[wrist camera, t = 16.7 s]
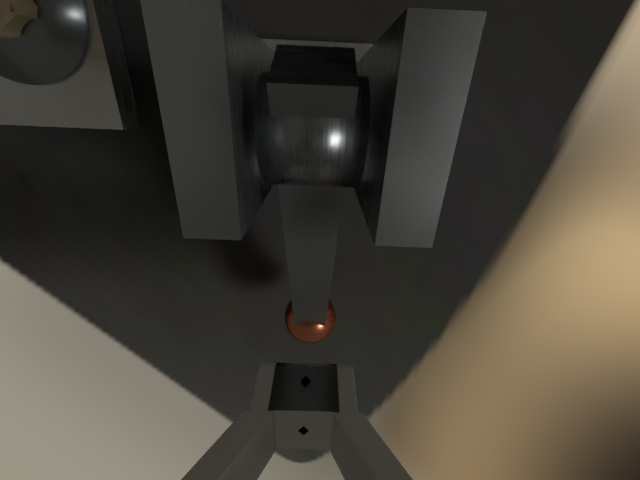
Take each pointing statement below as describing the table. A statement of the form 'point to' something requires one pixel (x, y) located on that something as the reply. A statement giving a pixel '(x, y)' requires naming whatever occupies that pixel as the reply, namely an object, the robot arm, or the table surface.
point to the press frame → (248, 103)
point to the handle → (15, 16)
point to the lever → (311, 166)
